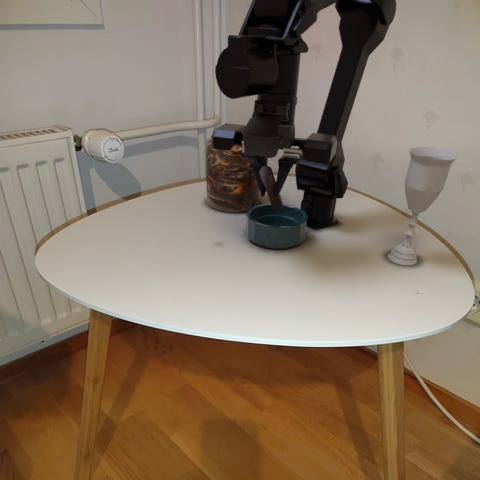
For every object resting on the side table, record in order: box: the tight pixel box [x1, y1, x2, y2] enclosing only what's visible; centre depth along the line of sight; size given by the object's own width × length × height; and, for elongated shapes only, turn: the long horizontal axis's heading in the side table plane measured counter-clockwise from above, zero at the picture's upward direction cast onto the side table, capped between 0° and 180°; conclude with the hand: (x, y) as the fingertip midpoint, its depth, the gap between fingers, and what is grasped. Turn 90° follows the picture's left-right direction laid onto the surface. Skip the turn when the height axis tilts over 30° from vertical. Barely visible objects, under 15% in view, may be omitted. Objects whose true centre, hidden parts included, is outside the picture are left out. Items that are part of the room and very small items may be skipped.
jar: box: [205, 138, 260, 213], centre depth 89 cm, size 12×12×15 cm
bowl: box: [245, 203, 308, 250], centre depth 79 cm, size 11×11×4 cm
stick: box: [260, 165, 284, 212], centre depth 70 cm, size 2×2×13 cm
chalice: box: [387, 146, 458, 266], centre depth 69 cm, size 7×7×18 cm
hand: (269, 196), depth 70 cm, fingers closed on stick, 2 cm apart
